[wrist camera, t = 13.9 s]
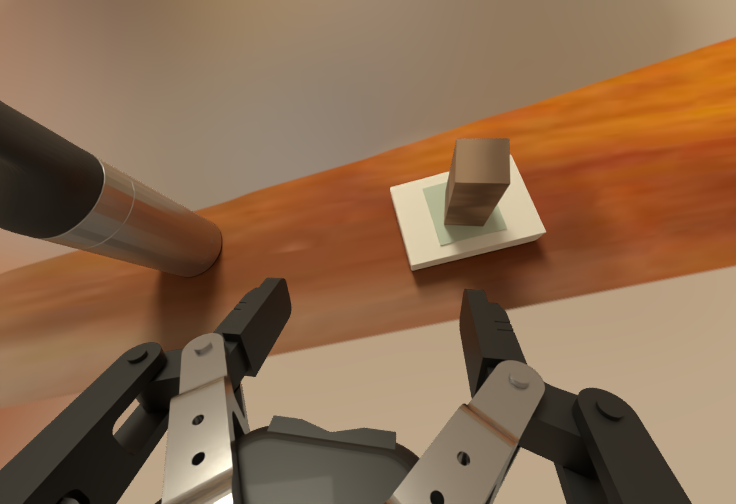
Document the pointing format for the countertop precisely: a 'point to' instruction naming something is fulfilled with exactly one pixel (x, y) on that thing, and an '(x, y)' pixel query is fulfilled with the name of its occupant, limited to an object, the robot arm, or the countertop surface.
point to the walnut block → (476, 180)
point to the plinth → (452, 242)
